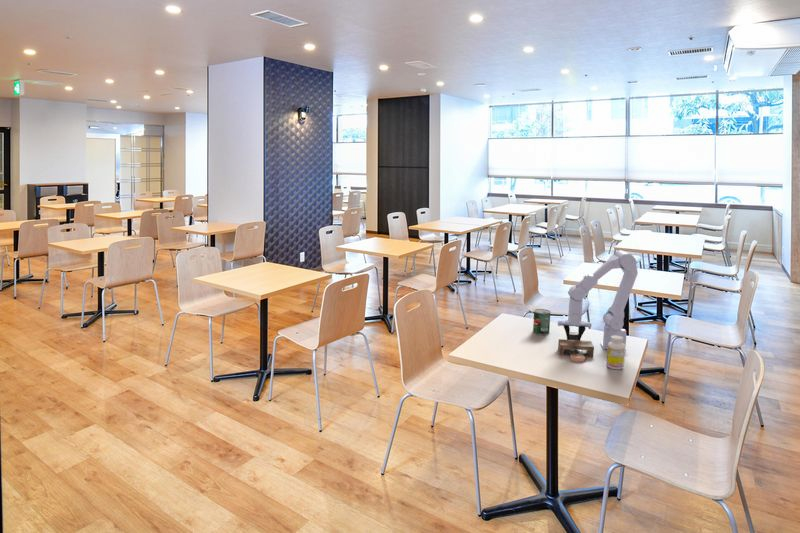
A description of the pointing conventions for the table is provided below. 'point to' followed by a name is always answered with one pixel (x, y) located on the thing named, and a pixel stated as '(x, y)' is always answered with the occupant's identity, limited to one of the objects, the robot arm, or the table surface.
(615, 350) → the supplement bottle
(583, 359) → the coaster
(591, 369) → the table surface
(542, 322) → the canned tomato
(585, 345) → the bench
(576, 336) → the grey square prism
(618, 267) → the robot arm
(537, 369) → the table surface
